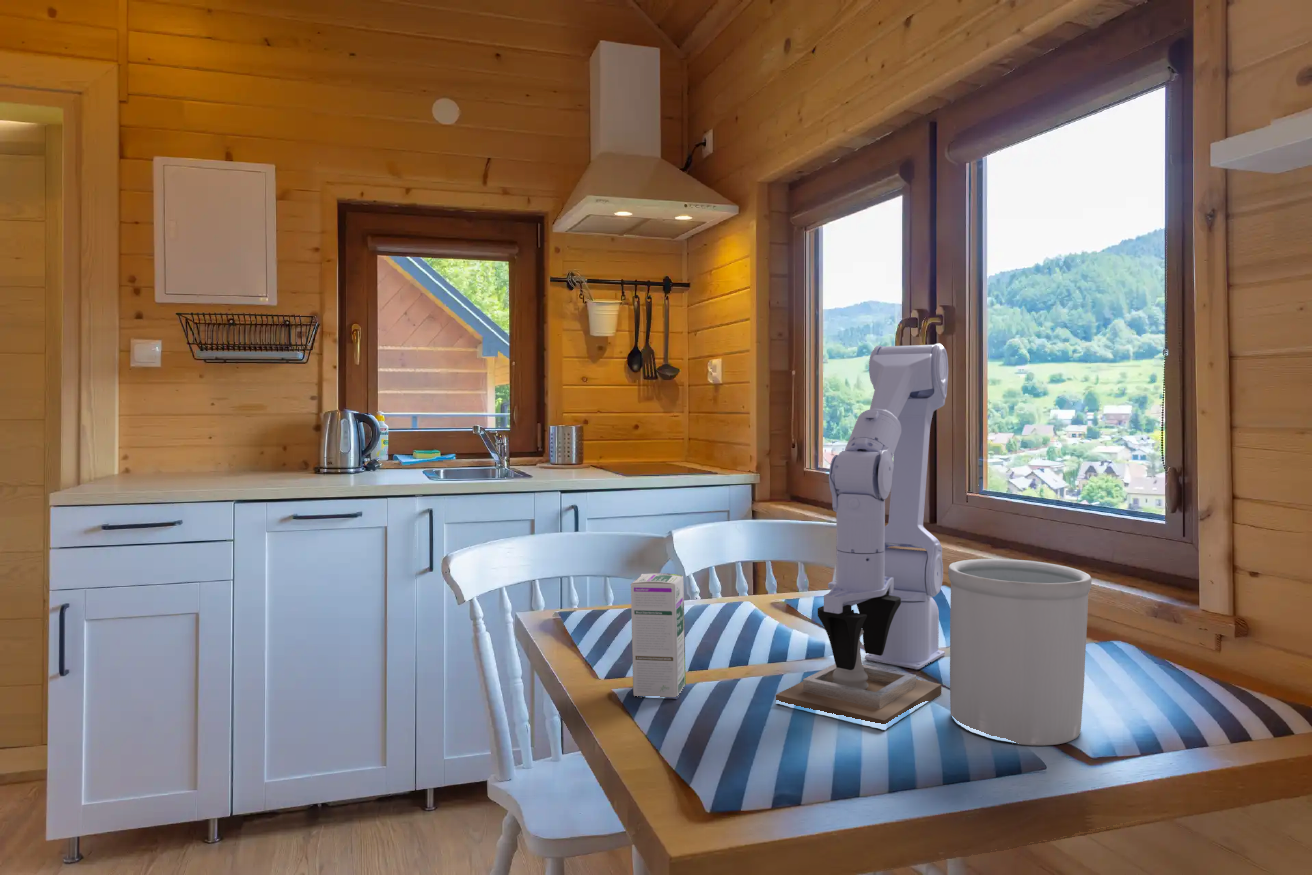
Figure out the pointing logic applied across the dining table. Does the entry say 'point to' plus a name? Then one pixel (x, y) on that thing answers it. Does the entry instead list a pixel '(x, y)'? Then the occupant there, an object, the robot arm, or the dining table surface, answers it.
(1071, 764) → the dining table surface
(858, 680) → the rook chess piece
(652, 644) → the syrup box
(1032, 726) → the utensil holder
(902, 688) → the collar board
